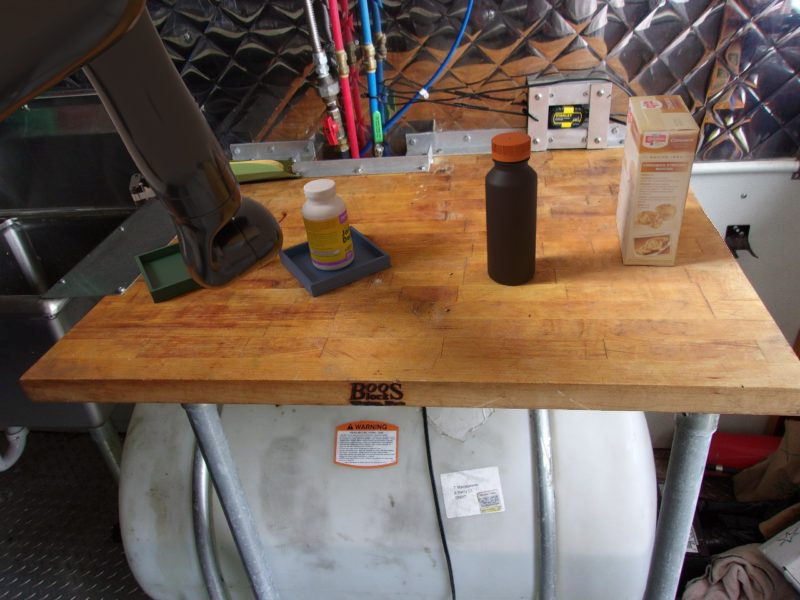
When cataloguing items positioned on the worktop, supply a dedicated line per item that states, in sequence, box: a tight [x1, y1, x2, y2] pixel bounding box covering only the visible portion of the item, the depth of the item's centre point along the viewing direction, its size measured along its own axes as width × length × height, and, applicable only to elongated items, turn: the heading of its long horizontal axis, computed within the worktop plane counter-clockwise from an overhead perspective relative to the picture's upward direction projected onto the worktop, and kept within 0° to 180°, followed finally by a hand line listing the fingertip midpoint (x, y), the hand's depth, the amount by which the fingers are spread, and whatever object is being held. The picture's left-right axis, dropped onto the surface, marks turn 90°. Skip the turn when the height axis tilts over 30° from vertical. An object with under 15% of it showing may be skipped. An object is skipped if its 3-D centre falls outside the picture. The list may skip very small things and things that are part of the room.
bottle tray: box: [278, 225, 392, 298], centre depth 92 cm, size 13×13×2 cm
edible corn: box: [229, 159, 300, 184], centre depth 124 cm, size 5×20×5 cm, turn 86°
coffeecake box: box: [615, 94, 701, 267], centre depth 83 cm, size 15×7×20 cm, turn 167°
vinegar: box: [484, 131, 539, 286], centre depth 79 cm, size 7×7×20 cm
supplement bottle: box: [301, 178, 354, 271], centre depth 88 cm, size 7×7×13 cm
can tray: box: [133, 241, 202, 304], centre depth 96 cm, size 17×14×2 cm
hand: (168, 164), depth 87 cm, fingers closed on soda can, 5 cm apart
